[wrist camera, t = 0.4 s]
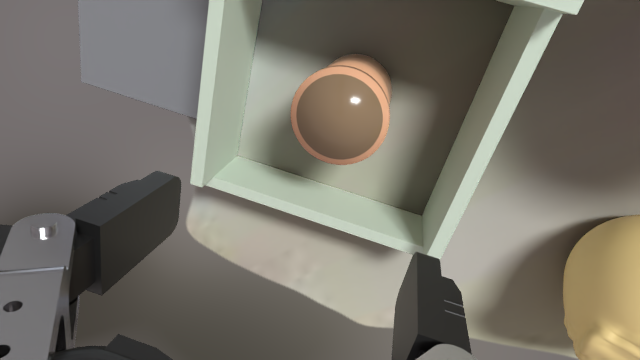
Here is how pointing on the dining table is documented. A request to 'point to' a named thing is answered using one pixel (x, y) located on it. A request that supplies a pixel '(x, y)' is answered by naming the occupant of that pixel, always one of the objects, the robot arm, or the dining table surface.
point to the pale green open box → (335, 204)
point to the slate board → (145, 49)
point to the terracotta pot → (343, 110)
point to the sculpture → (605, 292)
